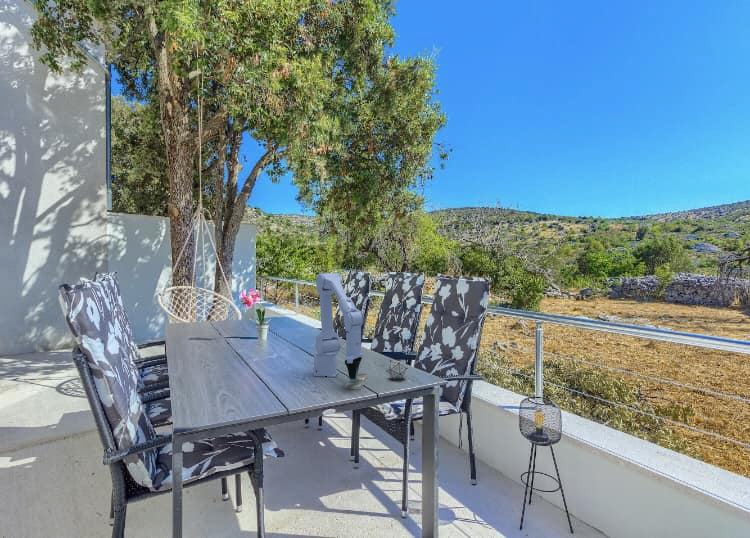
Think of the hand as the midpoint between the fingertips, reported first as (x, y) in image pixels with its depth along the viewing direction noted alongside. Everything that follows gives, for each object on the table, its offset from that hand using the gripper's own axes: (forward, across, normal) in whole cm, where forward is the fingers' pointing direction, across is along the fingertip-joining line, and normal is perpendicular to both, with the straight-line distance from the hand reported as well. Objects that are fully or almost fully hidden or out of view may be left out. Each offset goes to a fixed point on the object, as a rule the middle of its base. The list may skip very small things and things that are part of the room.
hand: (353, 377), depth 155 cm
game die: (+4, +14, -16) cm, 21 cm away
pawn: (+1, 0, 0) cm, 1 cm away
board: (+4, +7, 0) cm, 8 cm away
